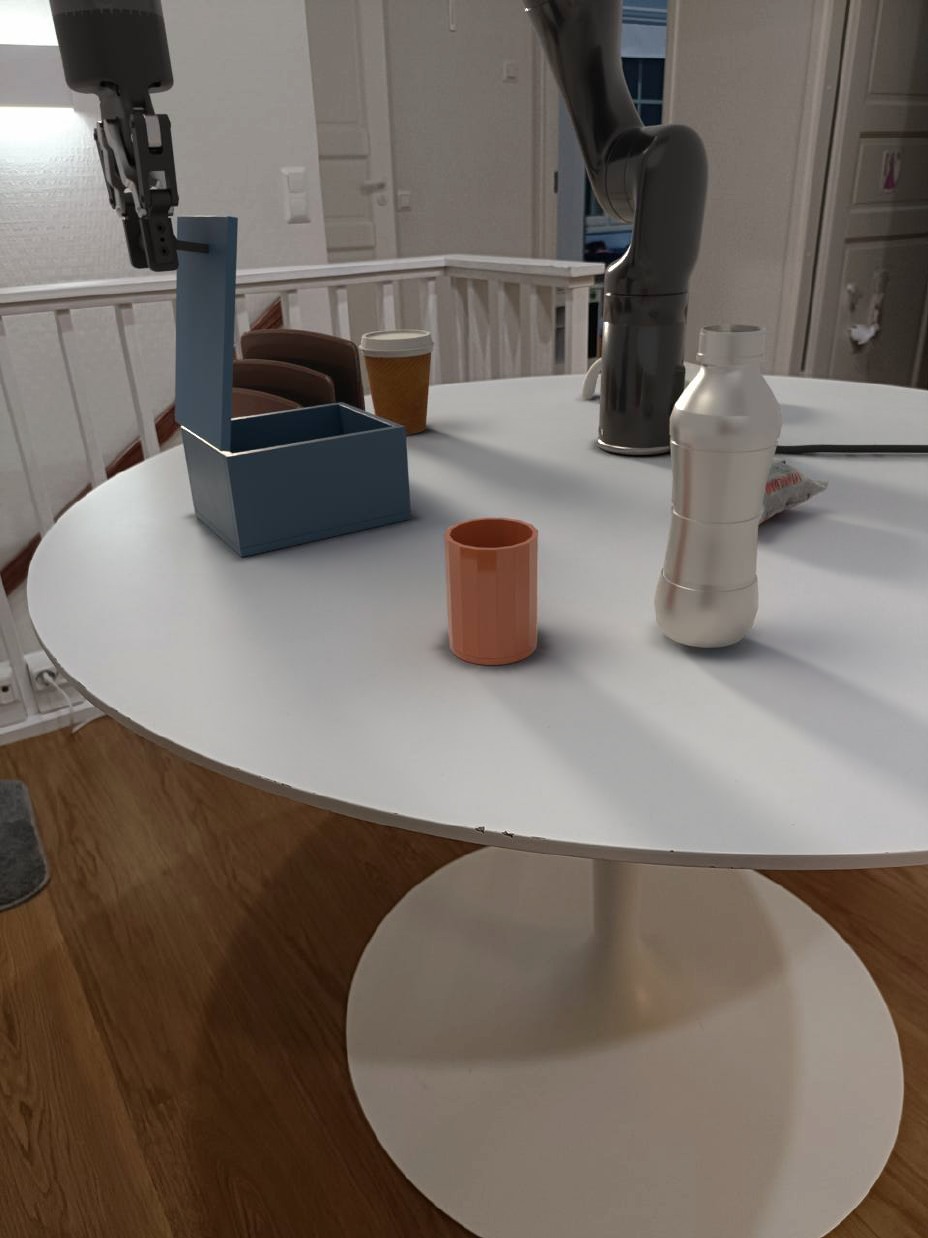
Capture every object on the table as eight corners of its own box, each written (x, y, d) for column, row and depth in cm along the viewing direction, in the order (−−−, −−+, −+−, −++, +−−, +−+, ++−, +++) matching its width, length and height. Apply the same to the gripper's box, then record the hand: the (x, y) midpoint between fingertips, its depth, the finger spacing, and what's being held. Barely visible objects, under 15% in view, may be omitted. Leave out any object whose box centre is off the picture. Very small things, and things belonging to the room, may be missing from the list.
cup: (539, 626, 62) (540, 518, 58) (534, 667, 56) (535, 550, 53) (456, 623, 62) (452, 516, 59) (443, 663, 57) (438, 548, 54)
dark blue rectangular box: (349, 485, 93) (342, 401, 90) (411, 519, 83) (405, 426, 79) (195, 515, 86) (179, 426, 82) (241, 557, 75) (226, 456, 71)
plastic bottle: (640, 620, 62) (659, 323, 53) (734, 614, 62) (767, 318, 54) (667, 663, 56) (693, 338, 48) (770, 656, 57) (814, 333, 48)
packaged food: (824, 511, 81) (831, 459, 79) (753, 544, 74) (759, 488, 72) (741, 493, 87) (745, 443, 85) (668, 522, 80) (671, 469, 78)
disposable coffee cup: (428, 439, 110) (423, 340, 105) (356, 437, 112) (347, 340, 107) (445, 421, 118) (441, 328, 113) (377, 420, 120) (370, 329, 115)
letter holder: (258, 437, 113) (243, 323, 107) (372, 459, 102) (362, 333, 96) (195, 455, 106) (175, 334, 100) (310, 480, 95) (295, 346, 89)
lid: (186, 217, 76) (125, 207, 73) (238, 217, 65) (169, 206, 63) (183, 421, 82) (127, 419, 79) (230, 451, 71) (167, 450, 69)
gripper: (189, -3, 59) (229, 270, 66) (137, 31, 70) (177, 262, 77) (71, -11, 55) (127, 278, 63) (36, 27, 66) (88, 269, 74)
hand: (154, 268), depth 70 cm, fingers closed on lid, 5 cm apart
